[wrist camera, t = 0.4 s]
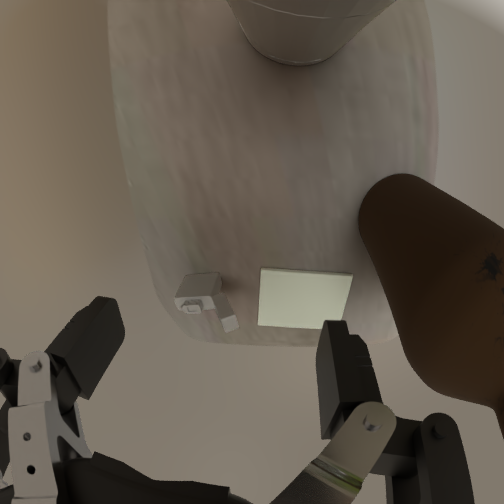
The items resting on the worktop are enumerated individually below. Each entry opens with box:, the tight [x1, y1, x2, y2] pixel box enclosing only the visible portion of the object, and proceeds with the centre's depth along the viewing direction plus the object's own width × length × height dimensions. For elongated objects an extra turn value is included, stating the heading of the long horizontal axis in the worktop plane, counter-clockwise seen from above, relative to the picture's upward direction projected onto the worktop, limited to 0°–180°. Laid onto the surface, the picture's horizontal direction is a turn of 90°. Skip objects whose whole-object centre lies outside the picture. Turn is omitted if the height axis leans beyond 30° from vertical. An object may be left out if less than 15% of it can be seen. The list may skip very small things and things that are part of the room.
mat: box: [258, 268, 353, 329], centre depth 32 cm, size 8×10×1 cm
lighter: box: [174, 272, 239, 333], centre depth 28 cm, size 7×2×8 cm, turn 100°
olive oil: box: [359, 174, 504, 439], centre depth 15 cm, size 11×11×25 cm
